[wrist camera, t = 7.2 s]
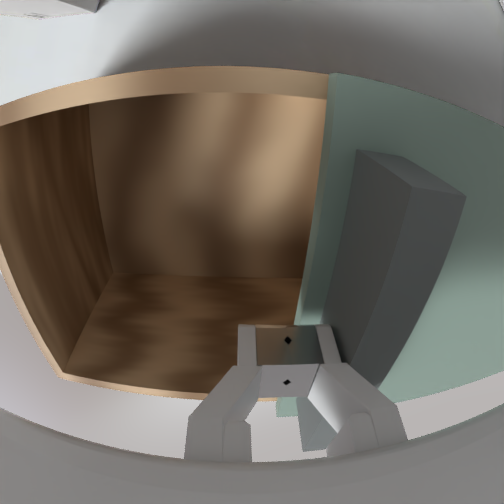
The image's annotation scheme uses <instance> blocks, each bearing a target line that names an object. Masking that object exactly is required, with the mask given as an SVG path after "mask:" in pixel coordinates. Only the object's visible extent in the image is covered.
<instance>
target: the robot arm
mask: <svg viewBox="0 0 504 504" xmlns="http://www.w3.org/2000/svg"><path fill="white" fill-rule="evenodd" d="M499 1H500V4H501V6H502V8H503V11H504V0H499ZM307 396H308V399H309V400H310V401H311V403H312V404H313V405H314V406H315V407H316V409H317V410H318V411H319V412H320V413H321V415H322V416H323V417H324V418H325V419H326V420H327V422H328V423H329V424H330V425H331V426H332V427H333V429H334V430H335V431H336V432H337V435H336V436H335V437H334V439H333V440H332V441H331V443H330V444H329V445H328V446H327V448H326V451H327V457H323V458H315V459H306V460H294V461H278V462H252V454H251V428H250V427H251V426H250V424H248V423H247V422H245V419H246V418H247V416H248V415H249V413H250V411H251V410H252V408H253V407H254V405H255V404H256V402H257V401H258V398H275V397H307ZM0 504H504V404H502V405H500V406H498V407H495V408H493V409H491V410H489V411H487V412H485V413H483V414H480V415H478V416H476V417H474V418H471V419H469V420H466V421H464V422H462V423H459V424H456V425H454V426H451V427H448V428H445V429H443V430H440V431H437V432H434V433H431V434H428V435H425V436H421V437H419V438H415V439H411V440H408V439H407V436H406V433H405V429H404V427H403V423H402V420H401V417H400V414H399V411H398V408H397V406H396V405H395V404H394V403H393V402H392V401H391V400H389V399H388V398H387V397H386V396H385V395H384V394H382V393H381V392H380V391H379V390H378V389H376V388H375V387H374V386H373V385H372V384H371V383H369V382H368V381H367V380H366V379H365V378H364V377H362V376H361V375H360V374H359V373H358V372H357V371H355V370H354V369H353V368H352V367H351V366H349V365H348V364H347V363H342V361H341V358H340V355H339V351H338V348H337V344H336V341H335V338H334V335H333V331H332V328H331V326H330V325H329V324H314V325H247V324H239V326H238V353H237V366H232V367H231V369H230V370H229V371H228V372H227V373H226V374H225V376H224V377H223V378H222V379H221V380H220V382H219V383H218V384H217V385H216V386H215V387H214V389H213V390H212V391H211V392H210V393H209V394H208V396H207V397H206V398H205V399H204V400H203V401H202V402H201V404H200V405H199V406H198V407H197V408H196V409H195V410H194V412H193V413H192V414H191V415H190V416H189V418H188V427H187V436H186V445H185V455H184V459H180V458H171V457H164V456H157V455H150V454H144V453H139V452H134V451H129V450H124V449H119V448H114V447H110V446H106V445H102V444H98V443H94V442H91V441H87V440H84V439H80V438H77V437H73V436H70V435H67V434H64V433H61V432H58V431H55V430H53V429H50V428H47V427H44V426H42V425H39V424H37V423H34V422H32V421H29V420H26V419H24V418H22V417H20V416H17V415H15V414H13V413H11V412H8V411H6V410H4V409H2V408H0Z"/></svg>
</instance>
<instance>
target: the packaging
mask: <svg viewBox="0 0 504 504" xmlns="http://www.w3.org/2000/svg"><path fill="white" fill-rule="evenodd" d="M99 1H100V0H0V15H6V16H16V17H24V18H31V19H38V20H42V19H48V18H54V17H61V16H69V15H79V14H91V13H96V12H97V7H98V4H99Z"/></svg>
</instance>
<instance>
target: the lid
mask: <svg viewBox="0 0 504 504" xmlns="http://www.w3.org/2000/svg"><path fill="white" fill-rule="evenodd" d="M314 324H329V325H330V326H331V328H332V331H333V335H334V338H335V341H336V344H337V348H338V351H339V355H340V358H341V361H342V363H347V364H348V365H349V366H351V367H352V368H353V369H354V370H355V371H357V372H358V373H359V374H360V375H361V376H362V377H364V378H365V379H366V380H367V381H368V382H369V383H371V384H372V385H373V386H374V387H375V388H376V389H378V390H379V391H380V392H381V393H382V394H384V395H385V396H386V397H387V398H388V399H389V400H391V401H392V402H393V403H397V402H402V401H406V400H411V399H415V398H419V397H424V396H428V395H431V394H435V393H439V392H442V391H446V390H449V389H453V388H455V387H459V386H462V385H465V384H468V383H471V382H474V381H477V380H480V379H483V378H485V377H488V376H491V375H493V374H496V373H498V372H501V371H504V127H503V126H501V125H499V124H497V123H495V122H492V121H490V120H488V119H486V118H484V117H482V116H480V115H477V114H475V113H473V112H470V111H468V110H466V109H463V108H461V107H458V106H456V105H453V104H450V103H448V102H445V101H442V100H440V99H437V98H434V97H431V96H428V95H425V94H422V93H419V92H416V91H413V90H409V89H406V88H402V87H399V86H395V85H392V84H388V83H384V82H380V81H376V80H371V79H367V78H363V77H358V76H353V75H348V74H343V73H330V74H329V80H328V92H327V103H326V114H325V124H324V133H323V142H322V151H321V159H320V167H319V175H318V183H317V190H316V197H315V204H314V211H313V218H312V224H311V231H310V237H309V243H308V250H307V256H306V261H305V267H304V273H303V279H302V284H301V289H300V295H299V300H298V305H297V311H296V316H295V321H294V325H314ZM276 414H277V417H286V416H288V417H289V416H298V419H299V426H300V434H301V442H302V450H303V452H304V451H314V450H323V449H326V448H327V446H328V445H329V444H330V443H331V441H332V440H333V439H334V437H335V436H336V435H337V432H336V431H335V430H334V429H333V427H332V426H331V425H330V424H329V423H328V422H327V420H326V419H325V418H324V417H323V416H322V415H321V413H320V412H319V411H318V410H317V409H316V407H315V406H314V405H313V404H312V403H311V401H310V400H309V399H308V396H307V397H278V398H277V402H276Z"/></svg>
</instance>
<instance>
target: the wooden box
mask: <svg viewBox="0 0 504 504" xmlns="http://www.w3.org/2000/svg"><path fill="white" fill-rule="evenodd" d="M328 80H329V74H323V73H316V72H308V71H300V70H291V69H280V68H267V67H249V66H194V67H176V68H163V69H153V70H144V71H136V72H129V73H122V74H116V75H110V76H104V77H99V78H94V79H89V80H84V81H80V82H76V83H71V84H67V85H63V86H60V87H56V88H52V89H49V90H45V91H42V92H39V93H35V94H32V95H29V96H26V97H23V98H20V99H18V100H15V101H12V102H9V103H7V104H4V105H1V106H0V270H1V272H2V275H3V277H4V280H5V282H6V284H7V286H8V289H9V291H10V293H11V295H12V297H13V300H14V302H15V303H16V306H17V308H18V310H19V312H20V314H21V316H22V318H23V320H24V321H25V323H26V325H27V327H28V329H29V330H30V332H31V334H32V336H33V338H34V339H35V341H36V343H37V345H38V346H39V348H40V350H41V351H42V353H43V354H44V356H45V358H46V359H47V361H48V362H49V364H50V365H51V367H52V368H53V370H54V372H55V373H56V375H57V376H58V377H59V378H62V379H66V380H70V381H74V382H79V383H83V384H88V385H93V386H97V387H103V388H108V389H114V390H120V391H125V392H132V393H138V394H146V395H154V396H163V397H172V398H183V399H197V400H204V399H205V398H206V397H207V396H208V394H209V393H210V392H211V391H212V390H213V389H214V387H215V386H216V385H217V384H218V383H219V382H220V380H221V379H222V378H223V377H224V376H225V374H226V373H227V372H228V371H229V370H230V369H231V367H232V366H237V353H238V326H239V324H247V325H294V321H295V316H296V311H297V305H298V300H299V295H300V289H301V284H302V279H303V273H304V267H305V261H306V256H307V250H308V243H309V237H310V231H311V224H312V218H313V211H314V204H315V197H316V190H317V183H318V175H319V167H320V159H321V151H322V142H323V133H324V124H325V114H326V103H327V92H328ZM277 398H278V397H275V398H258V401H277Z"/></svg>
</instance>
